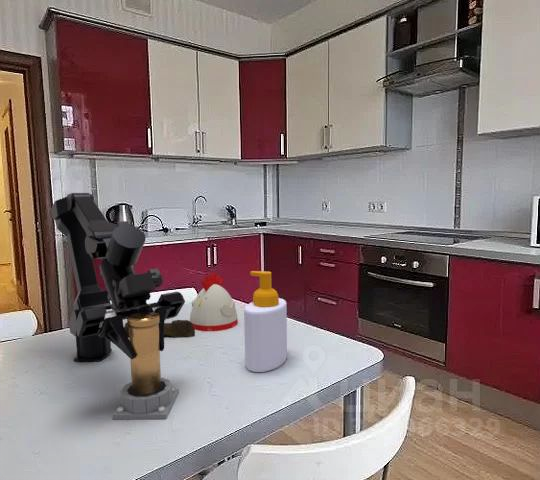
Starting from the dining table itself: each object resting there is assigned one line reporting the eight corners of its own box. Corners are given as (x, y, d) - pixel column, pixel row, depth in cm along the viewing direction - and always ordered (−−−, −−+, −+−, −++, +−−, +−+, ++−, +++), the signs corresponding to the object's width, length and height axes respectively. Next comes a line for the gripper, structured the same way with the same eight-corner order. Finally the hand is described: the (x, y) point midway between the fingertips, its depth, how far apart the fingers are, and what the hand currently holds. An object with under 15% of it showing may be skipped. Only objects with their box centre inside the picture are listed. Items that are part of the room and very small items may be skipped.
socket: (112, 419, 68) (111, 400, 67) (131, 393, 77) (130, 376, 76) (166, 418, 68) (165, 400, 67) (178, 393, 77) (178, 376, 76)
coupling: (123, 391, 70) (120, 319, 69) (144, 378, 75) (141, 310, 74) (149, 397, 68) (146, 322, 67) (168, 383, 73) (165, 313, 72)
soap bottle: (263, 348, 99) (262, 266, 96) (295, 353, 95) (294, 268, 93) (236, 369, 87) (233, 276, 85) (270, 376, 83) (268, 279, 81)
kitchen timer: (180, 326, 117) (178, 275, 116) (212, 314, 128) (211, 268, 127) (215, 334, 109) (214, 280, 108) (247, 321, 120) (246, 272, 119)
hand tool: (122, 339, 108) (121, 322, 107) (129, 333, 111) (128, 317, 111) (191, 341, 105) (191, 323, 105) (196, 335, 109) (195, 319, 109)
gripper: (76, 261, 66) (102, 344, 59) (178, 250, 78) (210, 318, 71) (66, 299, 73) (88, 377, 66) (162, 284, 85) (190, 349, 78)
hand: (148, 354), depth 70 cm, fingers closed on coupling, 5 cm apart
